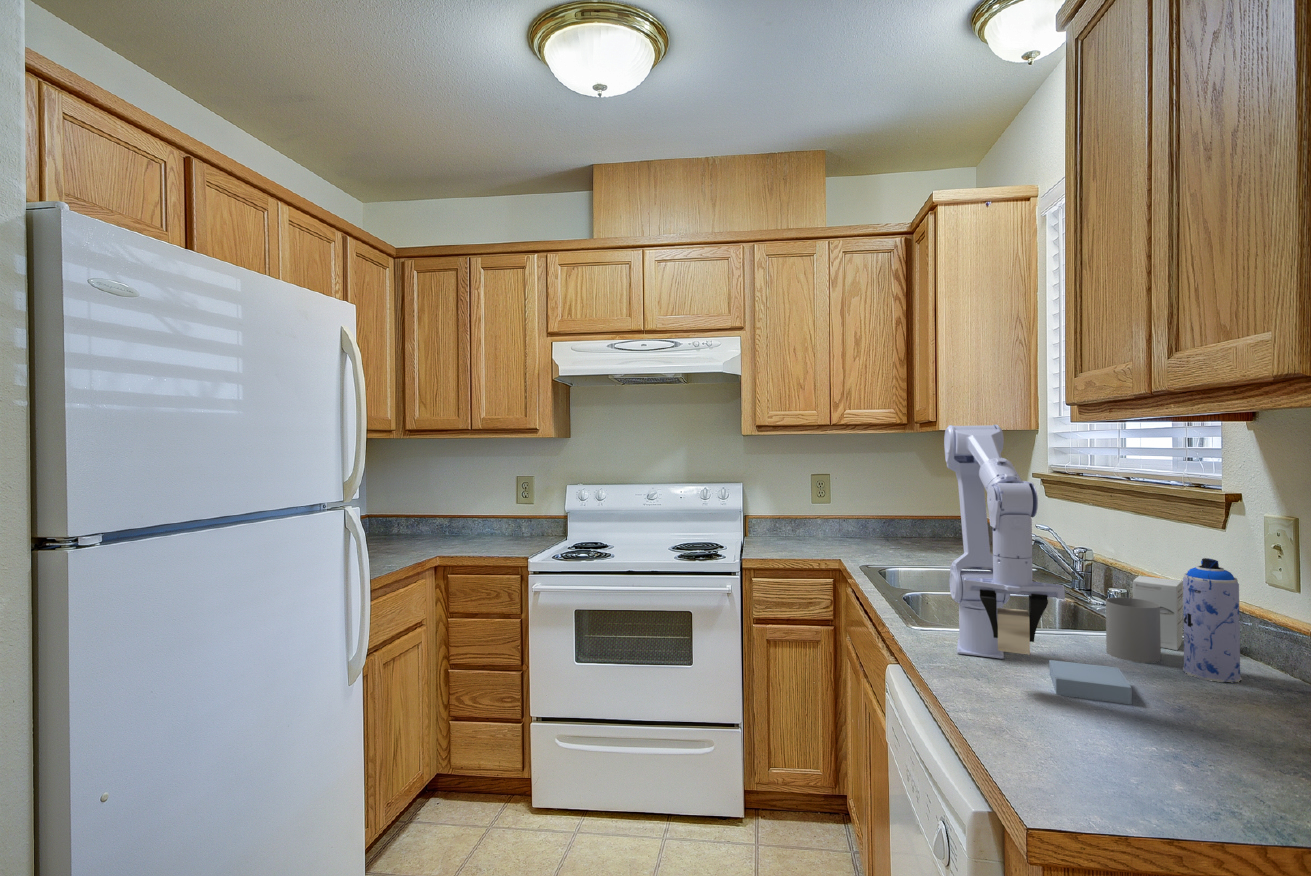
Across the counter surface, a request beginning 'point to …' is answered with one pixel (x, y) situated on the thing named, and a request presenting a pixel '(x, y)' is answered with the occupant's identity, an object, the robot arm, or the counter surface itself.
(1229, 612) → the aerosol can
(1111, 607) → the cup
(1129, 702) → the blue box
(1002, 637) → the birch block
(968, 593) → the robot arm
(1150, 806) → the counter surface
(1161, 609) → the supplement box
